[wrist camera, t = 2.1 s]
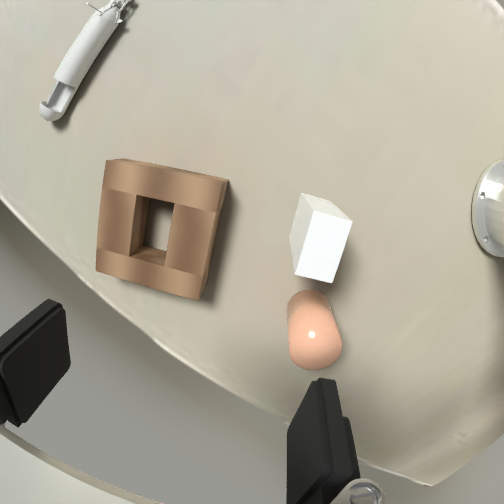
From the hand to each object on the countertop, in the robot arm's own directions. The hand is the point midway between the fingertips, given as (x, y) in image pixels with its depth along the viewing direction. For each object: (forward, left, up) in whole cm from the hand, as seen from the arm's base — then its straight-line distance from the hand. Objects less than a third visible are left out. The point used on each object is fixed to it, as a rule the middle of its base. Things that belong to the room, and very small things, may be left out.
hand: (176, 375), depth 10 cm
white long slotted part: (+22, -16, -24) cm, 37 cm away
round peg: (-10, +8, -24) cm, 27 cm away
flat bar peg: (-7, -2, -24) cm, 25 cm away
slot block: (+8, +2, -24) cm, 25 cm away
